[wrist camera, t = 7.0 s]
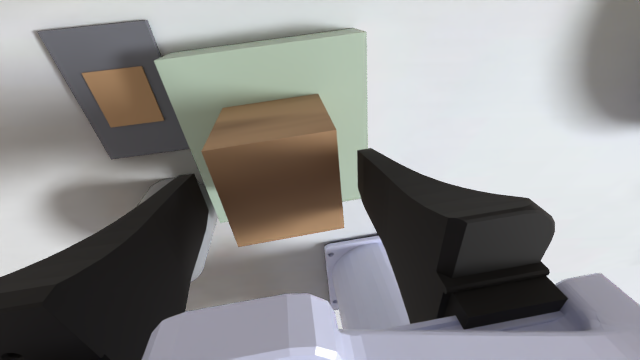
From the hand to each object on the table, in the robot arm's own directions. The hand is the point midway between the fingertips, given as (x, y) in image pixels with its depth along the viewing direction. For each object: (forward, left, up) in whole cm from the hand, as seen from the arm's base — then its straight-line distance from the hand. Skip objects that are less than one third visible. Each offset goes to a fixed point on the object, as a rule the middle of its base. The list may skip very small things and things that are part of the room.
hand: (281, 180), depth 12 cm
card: (+3, +8, -6) cm, 11 cm away
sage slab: (0, 0, -7) cm, 7 cm away
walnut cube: (0, 0, -4) cm, 4 cm away
